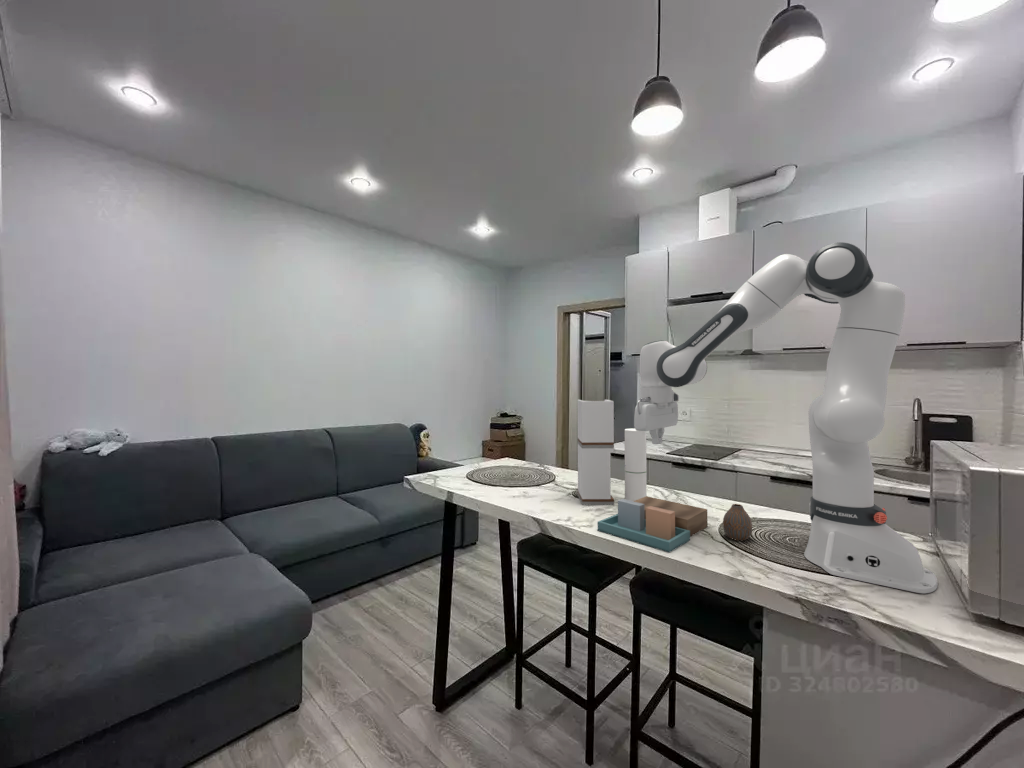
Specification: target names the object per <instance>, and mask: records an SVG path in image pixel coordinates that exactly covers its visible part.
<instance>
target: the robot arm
mask: <svg viewBox="0 0 1024 768" xmlns="http://www.w3.org/2000/svg"><path fill="white" fill-rule="evenodd" d="M873 278H874V272H873V270H872V268H871V265H870V264H869V261H868V258H867V256H866V254H865V253H864V251H862V249H860V248H859V247H858V246H856V245H854V244H852V243H848V242H833V243H830V244H827V245H824V246H822V247H821V248H819V249H817V250H816V252H814V253H813V255H812V256H811V257H810V258H809V260H805V259H803V258H801V257H799V256H798V255H795V254H790V253H784V254H781V255H778V256H776V257H774V258H773V259H772V260H770V261H769V262H768V263H766V264H764V265H763V266H762V267H761V268H760V269H759V270H757V271H756V272H754V273H753V275H751V276H750V278H748V279H747V280H746V281H745V282H744V283H743V284H742V285H741V286H740V287H739V288H738V289H737V290H736V292H734V294H733V295H732V296H731V297H730V298H729V299H728V301H726V302H725V304H724V305H723V306H722V307H721V308H720V309H719V311H717V313H716V314H715V315H714V316H712V318H710V319H709V320H708V321H707V322H705V324H703V325H702V326H701V327H700V328H699V329H698V330H697V331H696V332H695V333H693V335H692V336H691V337H689V338H688V339H687V340H685V341H684V342H683V343H681V344H680V345H678V346H676V345H673V344H672V343H670V342H668V341H667V340H661V339H660V340H655V341H651V342H648V343H646V344H644V345H643V346H642V347H641V349H640V353H639V374H640V379H641V381H640V383H639V389H640V390H639V396H640V397H639V399H638V402H637V403H636V405H635V408H634V419H633V425H634V428H635V429H636V431H646V432H648V431H649V435H650V437H651V443H652V444H653V445H659V444H660V445H661V444H663V436H664V433H665V428H668V427H675V426H677V423H678V421H679V404H678V402H679V401H680V396H679V394H678V393H677V392H675V391H674V390H673V388H680V387H684V386H690V385H693V384H694V385H695V384H697V383H699V382H700V381H701V380H703V379H704V378H705V376H706V374H707V371H708V363H707V361H706V358H708V357H709V355H711V354H712V353H713V352H714V351H716V349H717V348H719V347H720V346H721V345H722V344H723V343H724V342H726V341H727V340H728V339H729V338H731V337H733V336H735V335H737V334H739V333H743V332H745V331H748V330H753V329H756V328H758V327H760V326H762V325H764V324H765V323H766V322H769V320H770V319H772V318H773V317H775V316H776V315H778V313H780V311H782V310H783V309H784V308H785V307H786V306H788V304H789V303H791V302H792V300H794V299H796V298H797V297H799V296H801V295H804V296H806V297H808V298H811V299H815V300H818V301H820V302H823V303H827V304H831V305H832V304H833V305H835V304H836V305H837V304H839V307H840V314H839V320H838V322H837V326H836V330H835V333H834V336H833V340H832V343H831V346H830V351H829V354H828V357H827V360H826V372H825V380H824V384H823V391H822V394H820V395H818V396H817V397H816V398H814V399H813V400H812V402H811V403H810V405H809V408H808V430H809V431H808V432H809V443H810V452H811V461H812V462H811V463H812V496H811V497H810V500H809V518H810V521H811V524H810V529H809V530H810V531H809V536H808V537H809V538H808V541H807V545H806V547H805V550H804V552H803V555H804V557H805V558H806V560H808V561H809V562H811V563H813V564H815V565H817V566H818V567H820V568H822V569H823V570H824V571H825V572H826V573H829V574H830V575H831V576H832V575H833V576H837V577H841V578H846V579H850V580H856V581H860V582H865V583H870V584H874V585H879V586H883V587H889V588H894V589H899V590H903V591H907V592H912V593H917V594H930V593H932V592H934V591H936V590H937V588H938V586H939V585H938V578H937V575H936V574H935V573H934V572H933V571H932V570H930V569H928V568H927V567H924V566H923V561H922V558H921V555H920V553H919V551H918V549H917V547H916V546H915V545H914V544H913V543H912V542H911V541H910V540H908V539H906V537H904V536H902V535H901V534H899V532H897V531H896V530H894V529H893V528H891V527H890V526H889V525H888V524H887V520H888V517H887V511H886V509H885V508H884V507H882V508H881V507H880V506H878V505H876V504H875V501H874V499H875V493H874V492H875V491H874V490H875V482H874V481H875V476H874V475H875V470H874V469H875V468H874V466H873V463H872V460H871V454H870V453H871V452H870V448H869V441H872V440H873V439H875V438H877V437H878V436H879V435H880V434H881V433H882V431H883V429H884V426H885V414H884V413H885V412H884V411H885V408H886V407H885V406H886V400H887V391H888V380H889V374H890V369H891V365H892V362H893V358H894V356H895V352H896V348H897V346H898V341H899V337H900V334H901V331H902V328H903V327H902V326H903V322H904V316H905V308H906V306H905V305H906V304H905V303H906V294H905V292H904V291H903V289H902V288H901V287H900V286H897V285H896V284H893V283H890V282H885V281H876V280H874V279H873Z"/></svg>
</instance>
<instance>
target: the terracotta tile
mask: <svg viewBox="0 0 1024 768" xmlns="http://www.w3.org/2000/svg"><path fill="white" fill-rule="evenodd" d="M646 534H649V535H652V536H656V537H659V538H663V539H666V540H670V539H672V538H673V537H675V512H674V511H670V510H666V509H661V508H657V507H653V506H649V507H647V508H646Z"/></svg>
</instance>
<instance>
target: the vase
mask: <svg viewBox="0 0 1024 768" xmlns="http://www.w3.org/2000/svg"><path fill="white" fill-rule="evenodd" d="M722 528H723V531H724V533H725V534H726V536H727V537H728V538H729V537H730V538H729V539H731V538H733V539H736V540H735V541H738V540H744V541H746V540H748V539H749V538H750V537H751V535H752V533H753V522H752V519H751V517H750V515H749V514H748V512H747V511H746V510H745V508H744V506H743V505H742V504H739V503H733V504H732V505H731V507H730V508H729V509H728V510H727V511H726V512H725V514H724V516H723V519H722ZM733 539H732V540H733Z"/></svg>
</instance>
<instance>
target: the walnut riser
mask: <svg viewBox="0 0 1024 768" xmlns="http://www.w3.org/2000/svg"><path fill="white" fill-rule="evenodd" d="M633 502H638V503H642V504H645V519H646V508H647V507H649V506H653V507H657V508H661V509H666V510H670V511H674V512H675V527H678V528H682V529H686V530H689V531H690V538H691V537H693V536H694V535H696V534H698V533H700V532H701V531H702V530H704V529H706V528H708V508H703V507H699V506H693V505H688V504H684V503H679V502H675V501H670V500H667V499H666V500H665V499H661V498H658V497H652V496H649V495H648V496H647V495H646V497H643V498H640V499H638V500H635V501H633Z"/></svg>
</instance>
